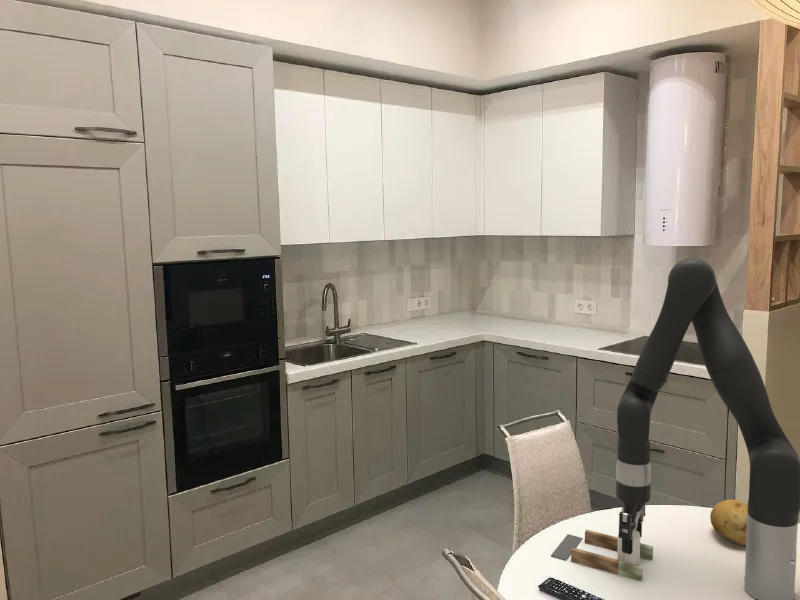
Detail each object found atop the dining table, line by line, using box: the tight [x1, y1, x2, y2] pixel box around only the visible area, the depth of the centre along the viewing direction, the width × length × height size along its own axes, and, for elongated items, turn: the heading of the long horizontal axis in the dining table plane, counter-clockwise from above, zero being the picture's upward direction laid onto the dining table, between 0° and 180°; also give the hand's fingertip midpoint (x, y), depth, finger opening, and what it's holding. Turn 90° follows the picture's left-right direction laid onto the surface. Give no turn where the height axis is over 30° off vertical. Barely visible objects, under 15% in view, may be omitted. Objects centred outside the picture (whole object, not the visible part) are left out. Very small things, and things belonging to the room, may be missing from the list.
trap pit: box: [550, 533, 583, 562], centre depth 156 cm, size 4×12×1 cm, turn 146°
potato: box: [709, 499, 748, 546], centre depth 157 cm, size 10×12×10 cm
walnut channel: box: [570, 529, 654, 582], centre depth 149 cm, size 16×11×3 cm
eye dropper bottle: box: [616, 523, 641, 565], centre depth 147 cm, size 4×6×12 cm
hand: (631, 544), depth 146 cm, fingers open, 8 cm apart
